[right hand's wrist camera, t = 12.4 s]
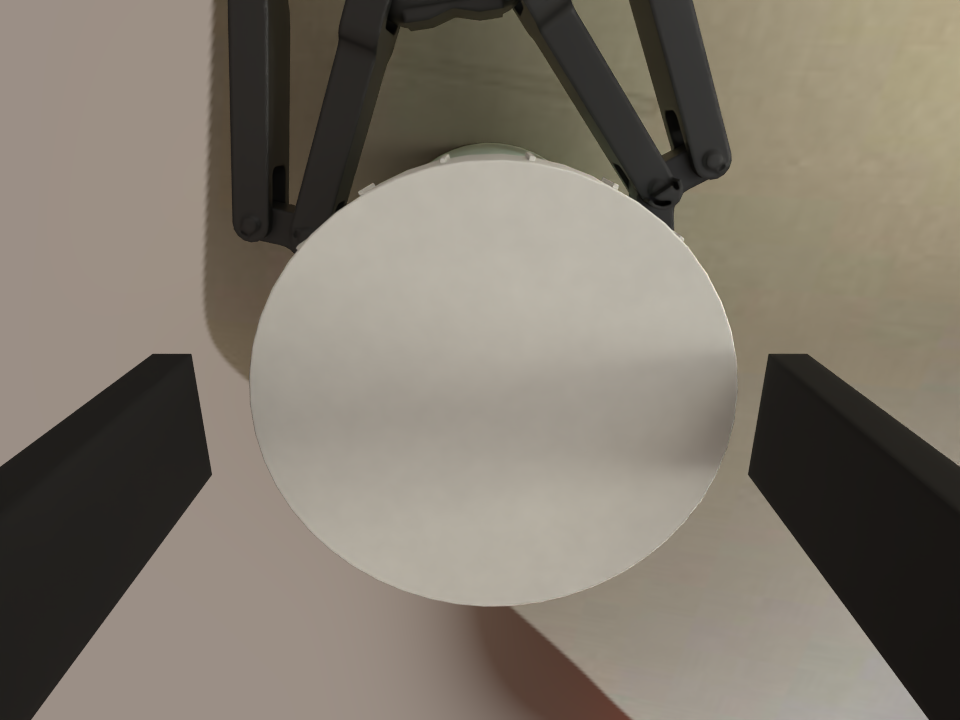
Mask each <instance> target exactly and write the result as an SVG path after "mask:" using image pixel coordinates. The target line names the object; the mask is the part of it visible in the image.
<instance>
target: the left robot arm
mask: <svg viewBox="0 0 960 720" xmlns="http://www.w3.org/2000/svg"><path fill="white" fill-rule="evenodd" d="M629 2H630V5H631V9H632V13H633V16H634V20H635V23H636V27H637V30H638V34H639V37H640V41H641V44H642V48H643V51H644V55H645V58H646V62H647V65H648V69H649V72H650V76H651V79H652V83H653V86H654V90H655V94H656V97H657V101H658V104H659V108H660V111H661V115H662V118H663V122H664V125H665V129H666V132H667V136H668V139H669V143H670V146H671V151H669V152H668V153H666V154H664V155H662V156H661V154H660V152H659V151H658V149H657V147H656V146H655V144H654V142H653V141H652V139H651V137H650V135H649V134H648V132H647V130H646V129H645V127H644V125H643V124H642V122H641V120H640V119H639V117H638V115H637V114H636V112H635V110H634V108H633V107H632V105H631V103H630V102H629V100H628V98H627V97H626V95H625V93H624V92H623V90H622V88H621V86H620V85H619V83H618V81H617V80H616V78H615V76H614V75H613V73H612V71H611V70H610V68H609V66H608V65H607V63H606V61H605V59H604V58H603V56H602V54H601V53H600V51H599V49H598V48H597V46H596V44H595V43H594V41H593V39H592V37H591V36H590V34H589V32H588V31H587V29H586V27H585V26H584V24H583V22H582V21H581V19H580V17H579V16H578V14H577V12H576V10H575V9H574V7H573V4H572V1H571V0H346V1H345V5H344V9H343V12H342V16H341V20H340V25H339V32H338V34H339V42H338V47H337V51H336V55H335V59H334V62H333V66H332V70H331V74H330V78H329V82H328V85H327V89H326V93H325V97H324V101H323V104H322V108H321V112H320V116H319V120H318V124H317V127H316V131H315V135H314V139H313V143H312V147H311V150H310V154H309V158H308V162H307V166H306V169H305V173H304V177H303V181H302V185H301V189H300V192H299V196H298V200H297V204H296V206H295V205H291V204H289V106H290V12H289V5H288V0H228V34H229V80H230V126H231V171H232V217H233V227H234V230H235V232H236V233H237V235H238V236H239V237H241V238H242V239H243V240H245V241H249V242H257V241H259V240H260V241H265V242H269V243H274V244H278V245H282V246H285V247H287V248H289V249H290V250H291V251H292V252H293V253H294V254H295V253H296V252H297V249H296V247H297V246H298V245H299V244H300V243H302V242H303V241H305V240H306V239H308V237H309V236H310V235H311V234H312V233H313V232H314V231H315V230H317V229H318V228H319V227H320V226H321V225H322V224H323V223H324V222H325V221H327V220H328V219H329V218H330V217H331V216H332V215H333V214H334V213H336V212H337V211H338V210H340V209H341V208H343V207H344V206H346V204H347V201H348V197H349V194H350V190H351V187H352V183H353V180H354V176H355V173H356V169H357V166H358V162H359V159H360V156H361V152H362V149H363V145H364V142H365V138H366V135H367V131H368V128H369V124H370V121H371V117H372V114H373V110H374V107H375V104H376V100H377V97H378V93H379V90H380V86H381V83H382V79H383V76H384V72H385V69H386V66H387V63H388V61H389V59H390V57H391V55H392V52H393V49H394V46H395V43H396V39H397V36H398V32H399V29H400V26H401V27H405V28H409V29H410V30H411V31H415V30H421V29H428V28H434V27H436V26H438V25H440V24H442V23H444V22H446V21H448V20H451V19H453V18H455V17H459V18H466V19H473V20H487V19H493V18H500V17H503V13H505V12H507V11H509V10H511V9H512V8H513V10H514V11H515V13H516V15H517V16H518V18H519V20H520V21H521V23H522V24H523V26H524V28H525V29H526V31H527V32H528V33H529V35H530V36H531V37H532V38H533V39H534V41H535V42H536V44H537V45H538V47H539V49H540V50H541V52H542V53H543V55H544V57H545V58H546V60H547V61H548V63H549V65H550V66H551V68H552V70H553V71H554V73H555V74H556V76H557V78H558V79H559V81H560V82H561V84H562V86H563V87H564V89H565V91H566V92H567V94H568V95H569V97H570V99H571V100H572V102H573V103H574V105H575V107H576V108H577V110H578V111H579V113H580V115H581V116H582V118H583V120H584V121H585V123H586V124H587V126H588V128H589V129H590V131H591V132H592V134H593V136H594V137H595V139H596V140H597V142H598V144H599V145H600V147H601V149H602V150H603V152H604V153H605V155H606V157H607V158H608V160H609V161H610V163H611V165H612V166H613V168H614V169H615V171H616V173H617V174H618V176H619V178H620V179H621V181H622V182H623V184H624V186H625V187H626V189H627V190H628V192H629V197H630V198H632V199H634V200H635V201H637V202H639V203H640V204H641V205H642V206H644V207H645V208H646V209H648V210H649V211H650V212H651V213H653V214H654V215H655V216H657V217H658V218H659V219H660V220H662V221H663V222H664V223H665V224H666V225H667V226H668V227H669V228H670V229H671V230H673V231H674V207H675V205H676V204H677V203H678V202H679V201H680V199H681V197H682V195H683V193H684V192H685V191H687V190H688V189H690V188H692V187H694V186H696V185H698V184H700V183H702V182H704V181H706V180H708V179H710V180H712V179H717V178H719V177H721V176H722V175H724V174H725V173H726V171H727V170H728V169H729V167H730V164H731V161H732V160H731V151H730V147H729V143H728V139H727V135H726V131H725V127H724V123H723V119H722V115H721V111H720V107H719V103H718V99H717V96H716V92H715V88H714V84H713V80H712V76H711V72H710V68H709V64H708V60H707V56H706V52H705V48H704V44H703V40H702V36H701V32H700V28H699V25H698V21H697V17H696V13H695V9H694V5H693V1H692V0H629Z"/></svg>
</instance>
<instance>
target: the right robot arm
mask: <svg viewBox="0 0 960 720" xmlns="http://www.w3.org/2000/svg"><path fill="white" fill-rule="evenodd" d="M211 475H212V472H211V466H210V460H209V455H208V449H207V443H206V437H205V431H204V425H203V419H202V413H201V408H200V402H199V396H198V390H197V384H196V378H195V373H194V367H193V361H192V355H191V354H152V355H151V356H149V357H148V358H147V359H145V360H144V361H143V362H141V363H140V364H139V365H137V366H136V367H135V368H133V369H132V370H130V371H129V372H128V373H126V374H125V375H124V376H122V377H121V378H120V379H118V380H117V381H116V382H114V383H113V384H112V385H110V386H109V387H107V388H106V389H105V390H103V391H102V392H101V393H99V394H98V395H97V396H95V397H94V398H93V399H91V400H90V401H89V402H87V403H86V404H85V405H83V406H82V407H80V408H79V409H78V410H76V411H75V412H74V413H72V414H71V415H70V416H68V417H67V418H66V419H64V420H63V421H62V422H60V423H59V424H57V425H56V426H55V427H53V428H52V429H51V430H49V431H48V432H47V433H45V434H44V435H43V436H41V437H40V438H39V439H37V440H36V441H35V442H33V443H32V444H30V445H29V446H28V447H26V448H25V449H24V450H22V451H21V452H20V453H18V454H17V455H16V456H14V457H13V458H12V459H10V460H9V461H8V462H6V463H5V464H3V465H2V466H1V467H0V720H31V719H32V718H33V716H34V715H35V714H36V712H37V711H38V710H39V708H40V707H41V705H42V704H43V703H44V701H45V700H46V699H47V697H48V696H49V695H50V693H51V692H52V691H53V689H54V688H55V686H56V685H57V684H58V682H59V681H60V680H61V678H62V677H63V676H64V674H65V673H66V672H67V670H68V669H69V668H70V666H71V665H72V663H73V662H74V661H75V659H76V658H77V657H78V655H79V654H80V653H81V651H82V650H83V649H84V647H85V646H86V645H87V643H88V642H89V640H90V639H91V638H92V636H93V635H94V634H95V632H96V631H97V630H98V628H99V627H100V626H101V624H102V623H103V622H104V620H105V619H106V617H107V616H108V615H109V613H110V612H111V611H112V609H113V608H114V607H115V605H116V604H117V603H118V601H119V600H120V599H121V597H122V596H123V594H124V593H125V592H126V590H127V589H128V588H129V586H130V585H131V584H132V582H133V581H134V580H135V578H136V577H137V575H138V574H139V573H140V571H141V570H142V569H143V567H144V566H145V565H146V563H147V562H148V561H149V559H150V558H151V557H152V555H153V554H154V552H155V551H156V550H157V548H158V547H159V546H160V544H161V543H162V542H163V540H164V539H165V538H166V536H167V535H168V533H169V532H170V531H171V529H172V528H173V527H174V525H175V524H176V523H177V521H178V520H179V519H180V517H181V516H182V515H183V513H184V512H185V510H186V509H187V508H188V506H189V505H190V504H191V502H192V501H193V500H194V498H195V497H196V496H197V494H198V493H199V492H200V490H201V489H202V487H203V486H204V485H205V483H206V482H207V481H208V479H209V478H210V477H211ZM748 475H749V477H750V478H751V479H752V481H753V482H754V483H755V485H756V486H757V487H758V489H759V490H760V492H761V493H762V494H763V496H764V497H765V498H766V500H767V501H768V502H769V504H770V505H771V506H772V508H773V509H774V510H775V512H776V513H777V515H778V516H779V517H780V519H781V520H782V521H783V523H784V524H785V525H786V527H787V528H788V529H789V531H790V532H791V534H792V535H793V536H794V538H795V539H796V540H797V542H798V543H799V544H800V546H801V547H802V548H803V550H804V551H805V552H806V554H807V555H808V557H809V558H810V559H811V561H812V562H813V563H814V565H815V566H816V567H817V569H818V570H819V571H820V573H821V574H822V575H823V577H824V578H825V580H826V581H827V582H828V584H829V585H830V586H831V588H832V589H833V590H834V592H835V593H836V594H837V596H838V597H839V599H840V600H841V601H842V603H843V604H844V605H845V607H846V608H847V609H848V611H849V612H850V613H851V615H852V616H853V617H854V619H855V620H856V622H857V623H858V624H859V626H860V627H861V628H862V630H863V631H864V632H865V634H866V635H867V636H868V638H869V639H870V640H871V642H872V643H873V645H874V646H875V647H876V649H877V650H878V651H879V653H880V654H881V655H882V657H883V658H884V659H885V661H886V662H887V664H888V665H889V666H890V668H891V669H892V670H893V672H894V673H895V674H896V676H897V677H898V678H899V680H900V681H901V682H902V684H903V685H904V687H905V688H906V689H907V691H908V692H909V693H910V695H911V696H912V697H913V699H914V700H915V701H916V703H917V704H918V706H919V707H920V708H921V710H922V711H923V712H924V714H925V715H926V716H927V718H928V719H929V720H960V467H959V466H958V465H957V464H955V463H954V462H953V461H951V460H950V459H948V458H947V457H946V456H944V455H943V454H942V453H940V452H939V451H938V450H936V449H935V448H934V447H932V446H931V445H930V444H928V443H927V442H925V441H924V440H923V439H921V438H920V437H919V436H917V435H916V434H915V433H913V432H912V431H911V430H909V429H908V428H907V427H905V426H904V425H903V424H901V423H900V422H898V421H897V420H896V419H894V418H893V417H892V416H890V415H889V414H888V413H886V412H885V411H884V410H882V409H881V408H880V407H878V406H877V405H876V404H874V403H873V402H871V401H870V400H869V399H867V398H866V397H865V396H863V395H862V394H861V393H859V392H858V391H857V390H855V389H854V388H853V387H851V386H850V385H849V384H847V383H846V382H844V381H843V380H842V379H840V378H839V377H838V376H836V375H835V374H834V373H832V372H831V371H830V370H828V369H827V368H826V367H824V366H823V365H821V364H820V363H819V362H817V361H816V360H815V359H813V358H812V357H811V356H809V355H808V354H769V355H768V361H767V367H766V372H765V378H764V384H763V390H762V396H761V402H760V408H759V413H758V419H757V425H756V431H755V437H754V443H753V449H752V454H751V460H750V466H749V472H748Z"/></svg>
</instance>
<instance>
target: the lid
mask: <svg viewBox="0 0 960 720" xmlns="http://www.w3.org/2000/svg"><path fill="white" fill-rule="evenodd" d="M618 187H619V185H617V184H615V183H614V182H612V181H610V180H608V179H606V178H604V177H603V178H602V180H601V181H600V180H599V179H597V178H595V177H593V176H591V175H589V174H586V173H584V172H581V171H579V170H576V169H574V168H571V167H569V166H566V165H564V164H559V163H555V162H551V161H547V160H543V159H539V158H535V156H534V155H533V154H532V153H530V152H526V155H525V156H518V155H508V154H480V155H465V156H460V157H454V158H450V157H449V154H446V155H443V156H442V157H441V158H440V160H437V161H434V162H431V163H428V164H425V165H422V166H418V167H415V168H412V169H409V170H406V171H404V172H402V173H400V174H398V175H396V176H394V177H392V178H390V179H388V180H386V181H384V182H382V183H380V184H378V185H376V186H375V184H374V183H372V184H370V185H368V186H367V187H365V188H363V189H362V190H360V191H358V193H359V195H360V196H359V197H358V198H356V199H355V200H353V201H352V202H350V203H349V204H347V205H346V206H344V207H343V208H341V209H340V210H338V211H337V212H336V213H334V214H333V215H332V216H331V217H330V218H329V219H328V220H327V221H325V222H324V223H323V224H322V225H321V226H320V227H319V228H318V229H317V230H315V231H314V232H313V233H312V234H311V235H310V236H309V237H308V239H306V240H305V241H303V242H302V243H300V244H299V245H298V246H297V247H296V249H297V252H296V253H295V254H294V255H293V256H292V258H291V259H290V260H289V262H288V263H287V265H286V266H285V268H284V270H283V271H282V273H281V275H280V276H279V278H278V280H277V281H276V283H275V284H274V286H273V288H272V290H271V292H270V295H269V297H268V299H267V302H266V304H265V306H264V309H263V311H262V313H261V316H260V319H259V323H258V327H257V331H256V334H255V338H254V342H253V346H252V355H251V364H250V373H249V384H250V406H251V412H252V418H253V423H254V429H255V434H256V437H257V440H258V443H259V446H260V449H261V453H262V456H263V459H264V461H265V463H266V466H267V468H268V470H269V472H270V474H271V476H272V478H273V480H274V482H275V484H276V486H277V488H278V489H279V491H280V492H281V494H282V496H283V497H284V499H285V500H286V502H287V503H288V505H289V506H290V508H291V509H292V511H293V512H294V513H295V514H296V515H297V516H298V518H299V519H300V520H301V521H302V522H303V524H304V525H305V526H306V527H307V528H308V529H309V531H310V532H312V533H313V534H314V535H315V536H316V537H317V538H318V539H319V540H320V541H321V542H322V543H323V544H325V545H326V546H327V547H328V548H329V549H330V550H331V551H333V552H334V553H335V554H337V555H338V556H340V557H341V558H342V559H344V560H345V561H346V562H348V563H349V564H351V565H352V566H353V567H355V568H357V569H359V570H361V571H362V572H364V573H366V574H368V575H369V576H371V577H373V578H375V579H376V580H379V581H381V582H383V583H386V584H388V585H390V586H393V587H395V588H397V589H400V590H402V591H405V592H408V593H412V594H415V595H418V596H422V597H425V598H428V599H433V600H438V601H443V602H449V603H454V604H462V605H474V606H515V605H523V604H531V603H539V602H544V601H548V600H552V599H557V598H561V597H565V596H569V595H572V594H574V593H577V592H580V591H583V590H586V589H589V588H591V587H594V586H596V585H598V584H600V583H603V582H605V581H607V580H609V579H611V578H613V577H615V576H617V575H619V574H621V573H622V572H624V571H626V570H627V569H629V568H630V567H632V566H634V565H635V564H637V563H638V562H640V561H642V560H643V559H644V558H646V557H647V556H648V555H649V554H651V553H652V552H653V551H654V550H656V549H657V548H658V547H659V546H661V545H662V544H663V543H664V542H665V541H666V540H667V539H668V538H669V537H670V536H671V535H672V534H673V533H674V532H675V531H676V530H677V529H678V528H679V527H680V526H681V525H682V524H683V523H684V522H685V521H686V520H687V518H688V517H689V516H690V514H691V513H692V512H693V510H694V509H695V508H696V507H697V505H698V504H699V503H700V501H701V500H702V498H703V497H704V495H705V493H706V491H707V490H708V488H709V486H710V485H711V483H712V481H713V479H714V478H715V476H716V474H717V472H718V469H719V467H720V464H721V462H722V459H723V457H724V455H725V452H726V450H727V447H728V443H729V439H730V435H731V431H732V428H733V424H734V419H735V411H736V402H737V393H738V382H737V359H736V353H735V348H734V342H733V337H732V331H731V328H730V325H729V322H728V319H727V316H726V313H725V310H724V307H723V304H722V302H721V300H720V298H719V296H718V294H717V292H716V290H715V288H714V286H713V284H712V282H711V280H710V278H709V276H708V274H707V273H706V271H705V270H704V268H703V267H702V266H701V264H700V263H699V261H698V260H697V259H696V257H695V256H694V254H693V253H692V252H691V250H690V249H689V247H688V246H687V245H686V244H685V243H684V242H683V241H684V238H683V237H682V236H681V235H679V234H678V233H676V232H674V231H673V230H671V229H670V228H669V227H668V226H667V225H666V224H665V223H664V222H663V221H662V220H660V219H659V218H658V217H657V216H655V215H654V214H653V213H651V212H650V211H649V210H648V209H646V208H645V207H644V206H642V205H641V204H640V203H639V202H637V201H635V200H634V199H632V198H630V197H628V196H627V195H625V194H623V193H622V192H620V191H618V190H617V189H618Z"/></svg>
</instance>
